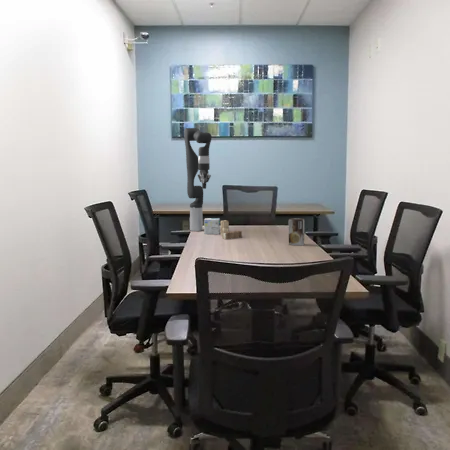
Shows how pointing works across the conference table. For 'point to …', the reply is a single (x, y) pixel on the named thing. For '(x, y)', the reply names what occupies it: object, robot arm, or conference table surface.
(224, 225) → the maple block
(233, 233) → the walnut block
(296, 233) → the coffee box
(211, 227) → the light bulb box
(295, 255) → the conference table surface
